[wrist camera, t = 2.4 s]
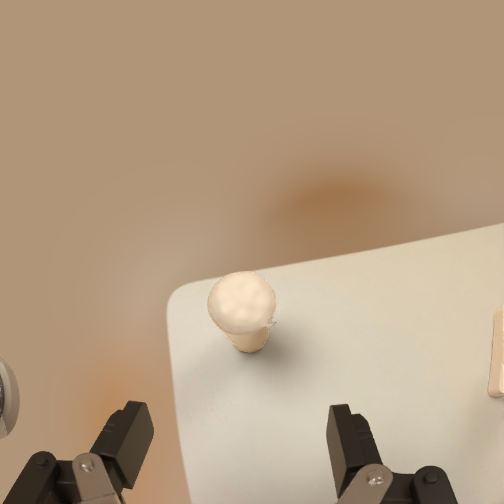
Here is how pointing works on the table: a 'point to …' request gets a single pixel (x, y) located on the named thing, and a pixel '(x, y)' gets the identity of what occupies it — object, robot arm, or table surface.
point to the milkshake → (243, 309)
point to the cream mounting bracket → (497, 356)
